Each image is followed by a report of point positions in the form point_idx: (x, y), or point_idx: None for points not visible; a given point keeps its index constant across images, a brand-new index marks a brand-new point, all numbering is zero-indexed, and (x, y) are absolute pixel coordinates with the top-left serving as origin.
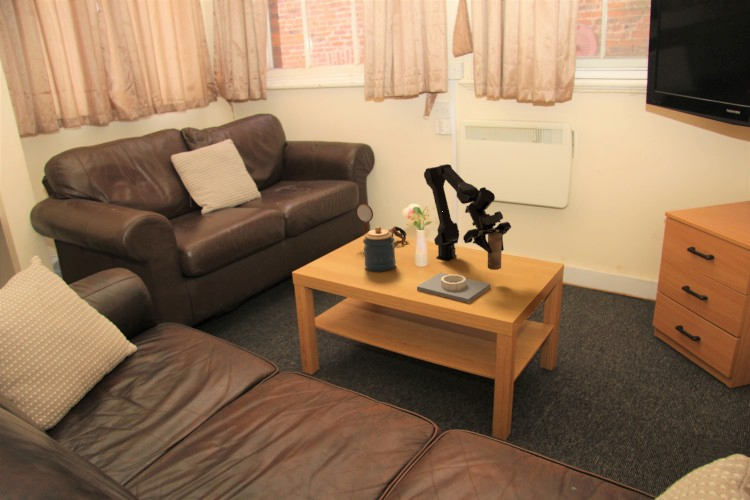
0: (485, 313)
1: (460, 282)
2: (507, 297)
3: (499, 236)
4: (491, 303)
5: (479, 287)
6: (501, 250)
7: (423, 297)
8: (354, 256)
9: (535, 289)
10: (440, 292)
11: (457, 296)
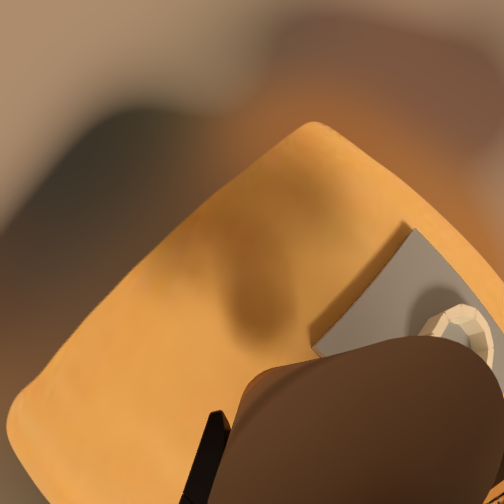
0: (366, 165)
1: (449, 311)
2: (273, 237)
3: (336, 357)
4: (341, 211)
5: (369, 316)
6: (237, 411)
7: (500, 305)
8: None
9: (141, 273)
10: (480, 302)
11: (443, 257)
